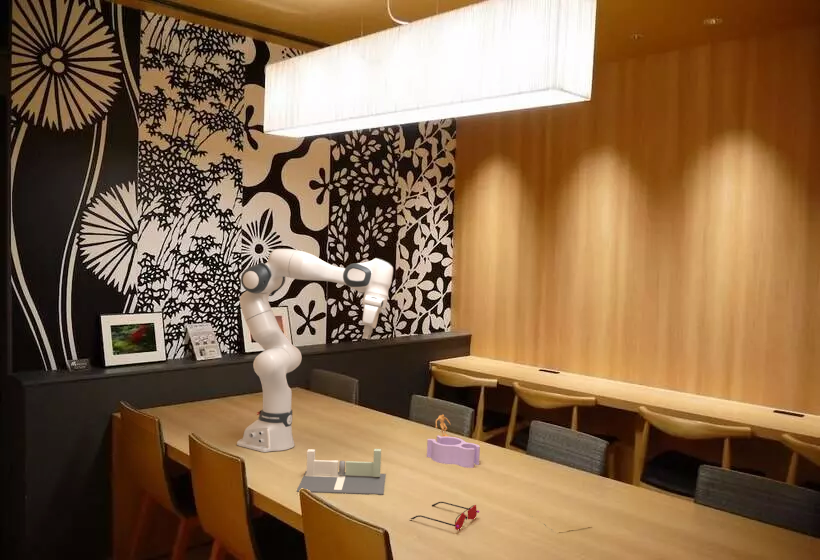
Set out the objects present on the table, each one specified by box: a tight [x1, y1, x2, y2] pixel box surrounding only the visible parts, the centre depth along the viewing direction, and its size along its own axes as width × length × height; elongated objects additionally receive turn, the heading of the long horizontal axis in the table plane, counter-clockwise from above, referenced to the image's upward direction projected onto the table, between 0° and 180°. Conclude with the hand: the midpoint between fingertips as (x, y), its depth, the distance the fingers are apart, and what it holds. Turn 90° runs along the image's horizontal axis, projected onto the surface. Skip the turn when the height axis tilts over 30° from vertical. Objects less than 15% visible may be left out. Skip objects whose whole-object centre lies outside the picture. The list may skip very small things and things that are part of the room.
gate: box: [338, 448, 382, 477], centre depth 231 cm, size 14×2×9 cm, turn 90°
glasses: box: [410, 501, 480, 531], centre depth 199 cm, size 14×16×5 cm
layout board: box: [296, 470, 387, 496], centre depth 226 cm, size 28×19×1 cm
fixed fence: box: [306, 448, 340, 477], centre depth 231 cm, size 11×2×9 cm, turn 90°
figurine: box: [435, 414, 451, 437], centre depth 275 cm, size 8×6×12 cm
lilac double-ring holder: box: [426, 435, 481, 469], centre depth 255 cm, size 20×12×7 cm, turn 54°
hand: (366, 338), depth 247 cm, fingers open, 8 cm apart
